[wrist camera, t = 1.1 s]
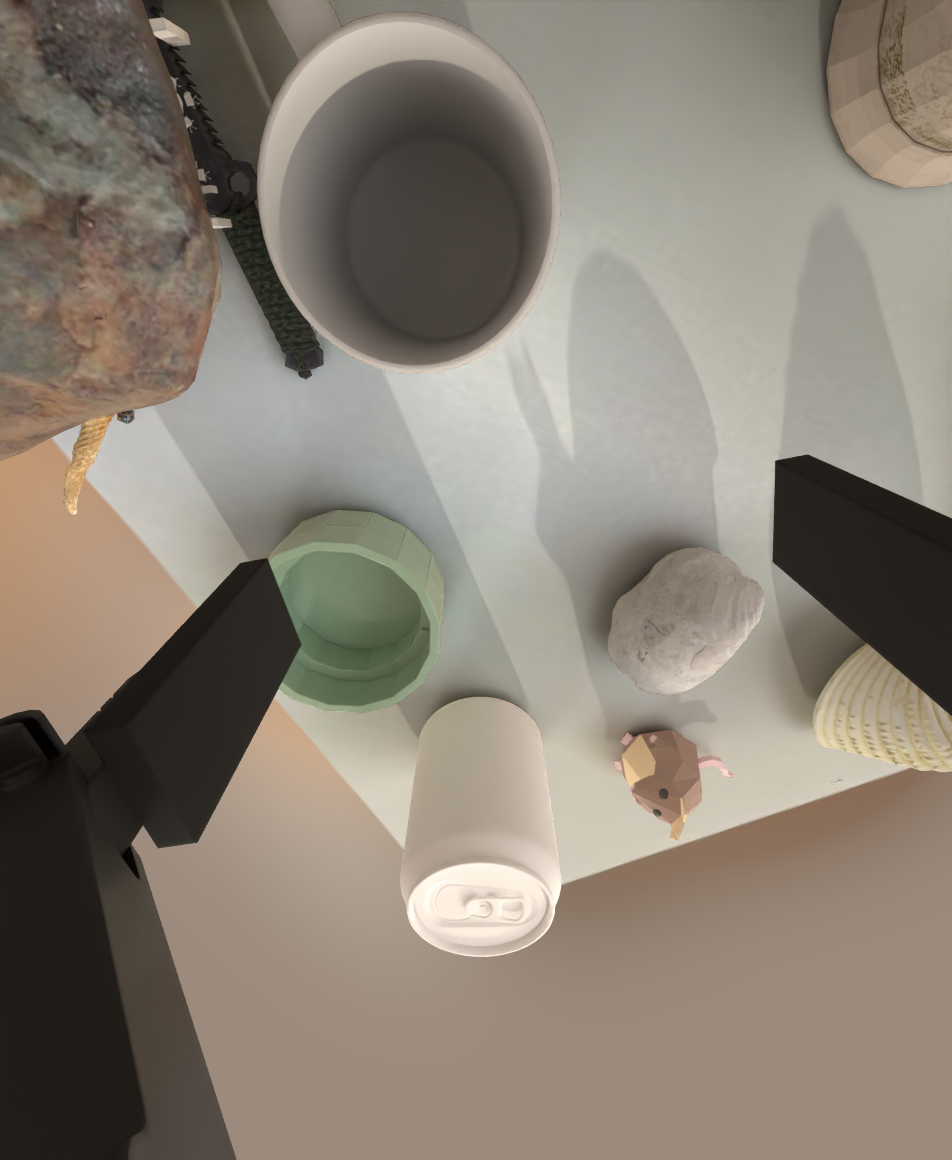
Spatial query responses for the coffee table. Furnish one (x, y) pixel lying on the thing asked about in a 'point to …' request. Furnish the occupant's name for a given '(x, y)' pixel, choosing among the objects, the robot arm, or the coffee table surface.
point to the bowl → (358, 610)
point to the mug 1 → (405, 187)
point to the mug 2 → (894, 88)
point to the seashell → (882, 715)
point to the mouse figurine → (665, 775)
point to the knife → (242, 221)
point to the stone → (95, 221)
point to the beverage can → (480, 831)
